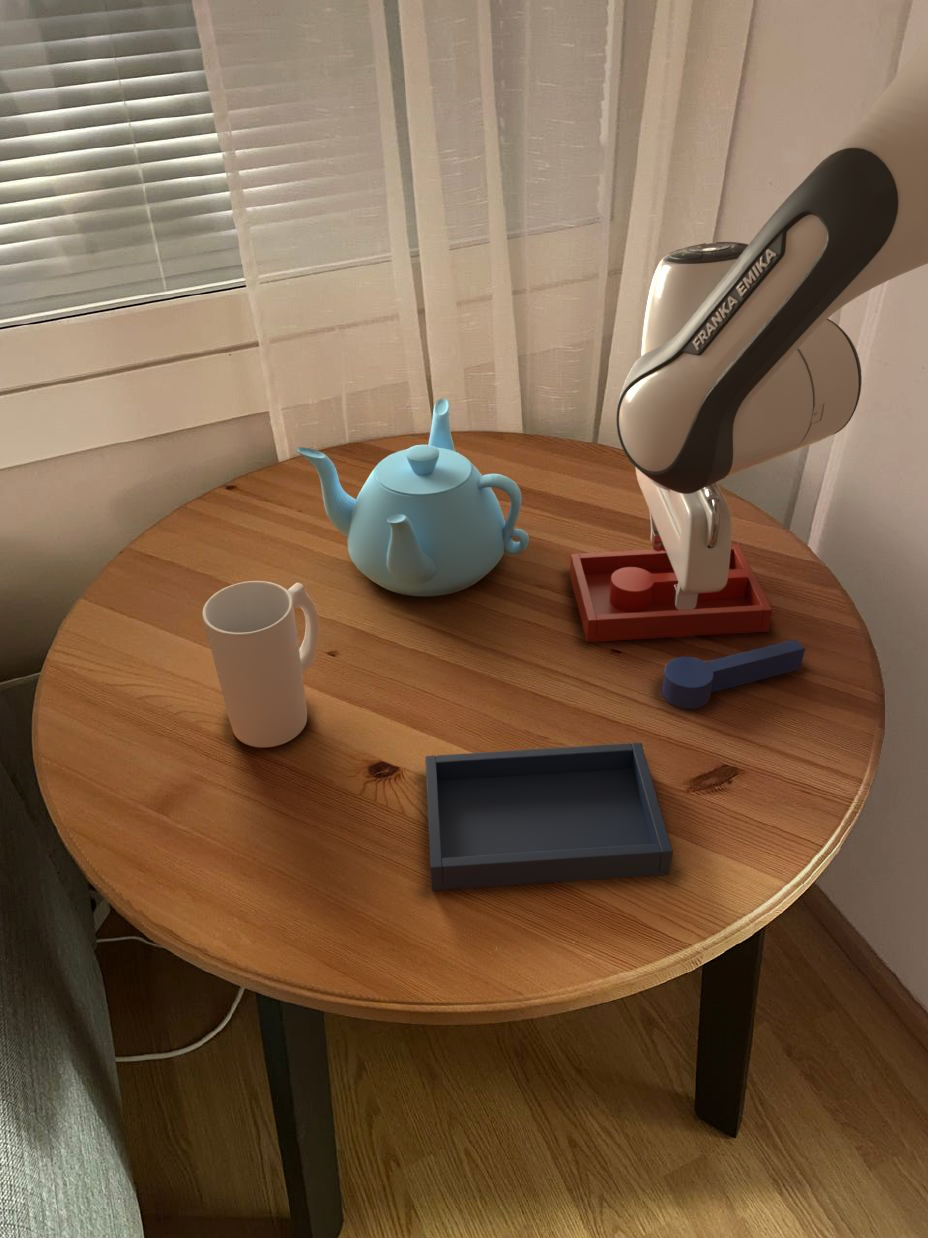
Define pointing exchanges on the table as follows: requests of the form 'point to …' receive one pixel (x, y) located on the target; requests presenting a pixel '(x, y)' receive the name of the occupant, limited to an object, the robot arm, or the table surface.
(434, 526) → the teapot
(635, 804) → the blue tray
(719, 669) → the blue spoon
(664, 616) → the red tray
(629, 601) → the red spoon
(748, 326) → the robot arm
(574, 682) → the table surface
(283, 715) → the mug
